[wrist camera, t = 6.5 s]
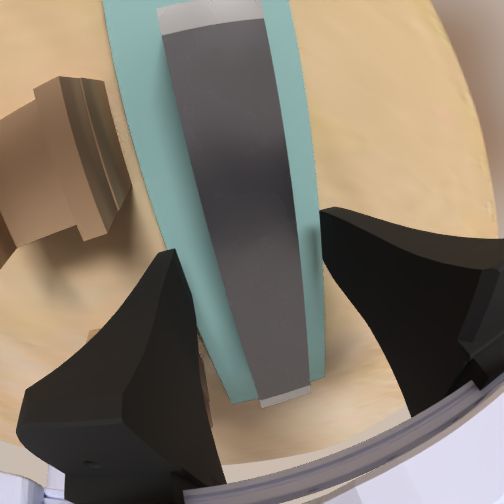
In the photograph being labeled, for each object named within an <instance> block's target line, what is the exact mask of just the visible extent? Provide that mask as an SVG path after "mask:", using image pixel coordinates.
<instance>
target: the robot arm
mask: <svg viewBox="0 0 504 504" xmlns="http://www.w3.org/2000/svg"><path fill="white" fill-rule="evenodd" d="M319 218H320V231H321V247H322V259H323V261H324V263H325V265H326V267H327V268H328V270H329V272H330V274H331V275H332V277H333V279H334V280H335V282H336V283H337V284H338V286H339V287H340V288H341V290H342V291H343V292H344V294H345V295H346V296H347V297H348V299H349V300H350V301H351V303H352V304H353V305H354V307H355V308H356V309H357V311H358V312H359V313H360V315H361V316H362V317H363V319H364V320H365V321H366V323H367V324H368V326H369V327H370V329H371V331H372V332H373V334H374V336H375V338H376V340H377V341H378V343H379V345H380V347H381V349H382V351H383V353H384V355H385V356H386V358H387V360H388V362H389V365H390V367H391V369H392V371H393V373H394V375H395V377H396V380H397V382H398V384H399V387H400V389H401V391H402V394H403V396H404V399H405V402H406V404H407V407H408V410H409V412H410V415H411V418H410V419H409V420H407V421H405V422H403V423H401V424H399V425H397V426H395V427H393V428H392V429H389V430H387V431H385V432H383V433H381V434H379V435H377V436H375V437H373V438H370V439H368V440H366V441H364V442H361V443H359V444H357V445H354V446H352V447H350V448H347V449H345V450H342V451H340V452H337V453H335V454H332V455H329V456H327V457H324V458H321V459H319V460H315V461H313V462H309V463H306V464H303V465H300V466H297V467H294V468H291V469H287V470H284V471H280V472H277V473H273V474H269V475H265V476H261V477H257V478H254V479H248V480H244V481H239V482H234V483H229V484H227V483H226V480H225V476H224V473H223V471H222V467H221V464H220V460H219V457H218V454H217V450H216V446H215V443H214V439H213V435H212V431H211V427H210V423H209V419H208V414H207V410H206V406H205V401H204V396H203V391H202V386H201V380H200V372H199V357H198V340H197V322H196V314H195V308H194V303H193V297H192V293H191V291H190V288H189V285H188V282H187V280H186V277H185V274H184V271H183V269H182V266H181V263H180V260H179V257H178V255H177V252H176V249H175V248H174V249H170V250H166V251H163V252H159V253H158V254H157V255H156V257H155V258H154V259H153V261H152V263H151V264H150V266H149V267H148V269H147V270H146V272H145V273H144V275H143V276H142V278H141V279H140V281H139V282H138V284H137V285H136V287H135V288H134V289H133V291H132V292H131V293H130V295H129V296H128V297H127V299H126V300H125V302H124V303H123V304H122V306H121V307H120V308H119V309H118V311H117V312H116V313H115V314H114V315H113V316H112V318H111V319H110V320H109V321H108V322H107V323H106V324H105V325H104V327H103V328H102V329H101V330H100V331H99V332H98V333H97V334H96V335H94V336H93V337H92V338H91V339H90V340H89V341H88V342H87V343H86V344H85V345H84V346H83V347H82V348H81V349H80V350H79V351H78V352H76V353H75V354H74V355H73V356H72V357H71V358H69V359H68V360H67V361H66V362H64V363H63V364H62V365H61V366H59V367H58V368H57V369H55V370H54V371H53V372H51V373H50V374H48V375H47V376H45V377H44V378H42V379H41V380H39V381H38V382H37V383H35V384H34V385H32V386H31V387H29V388H27V389H26V391H25V394H24V398H23V402H22V406H21V410H20V414H19V419H18V423H17V428H16V434H17V436H18V439H19V440H20V442H21V443H22V444H23V445H24V446H25V448H26V449H28V450H29V451H30V452H31V453H33V454H34V455H35V456H37V457H38V458H40V459H41V460H43V461H44V462H46V463H48V474H47V488H43V487H42V486H41V485H39V484H38V483H36V482H34V481H33V480H31V479H28V478H26V477H23V476H20V475H16V474H11V473H6V472H2V471H0V504H279V503H283V502H286V501H290V500H293V499H297V498H300V497H303V496H306V495H310V494H313V493H316V492H319V491H322V490H324V489H327V488H330V487H332V486H335V485H338V484H341V483H343V482H346V481H348V480H351V479H353V478H355V477H358V476H360V475H363V474H365V473H367V472H369V471H371V470H374V469H375V468H377V469H375V470H374V471H371V472H369V473H367V474H365V475H363V476H361V477H359V478H357V479H355V480H353V481H351V482H350V483H348V484H346V485H344V486H342V487H340V488H338V489H337V490H335V491H333V492H331V493H329V494H327V495H324V496H322V497H319V498H316V499H314V500H311V501H308V502H305V503H303V504H504V239H483V238H467V237H457V236H450V235H442V234H436V233H431V232H426V231H421V230H417V229H412V228H408V227H405V226H401V225H397V224H394V223H390V222H387V221H383V220H380V219H377V218H374V217H371V216H368V215H364V214H361V213H358V212H355V211H351V210H348V209H344V208H339V207H331V208H327V209H323V210H319ZM386 463H387V464H386ZM384 464H385V465H384ZM382 465H383V466H382ZM380 466H381V467H380ZM378 467H379V468H378Z"/></svg>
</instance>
